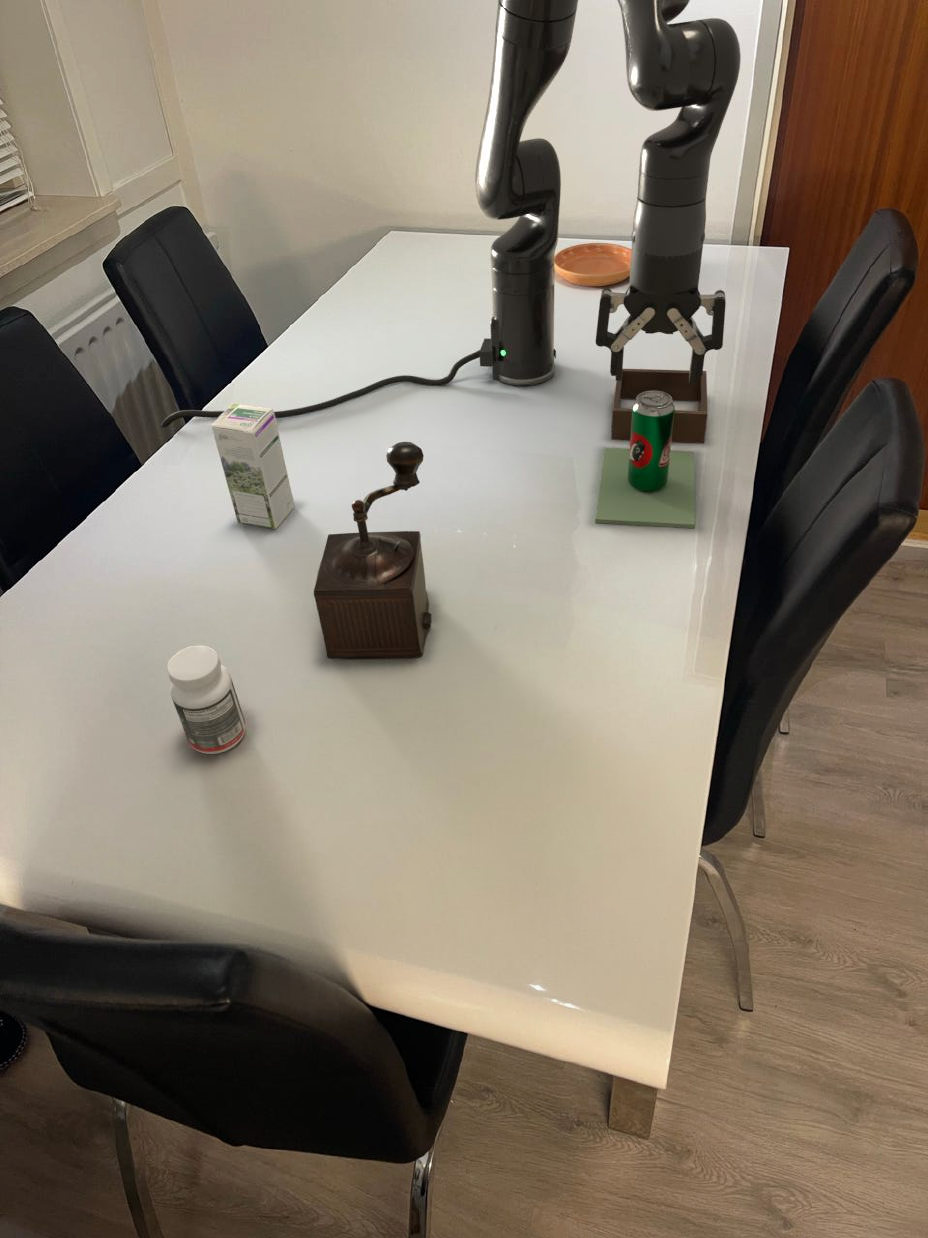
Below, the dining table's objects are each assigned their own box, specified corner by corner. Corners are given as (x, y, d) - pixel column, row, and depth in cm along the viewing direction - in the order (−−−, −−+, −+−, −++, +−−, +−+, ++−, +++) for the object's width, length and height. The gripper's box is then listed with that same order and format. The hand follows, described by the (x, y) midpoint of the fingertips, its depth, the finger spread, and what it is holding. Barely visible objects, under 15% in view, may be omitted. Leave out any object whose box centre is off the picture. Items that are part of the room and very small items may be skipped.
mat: (594, 522, 116) (595, 518, 115) (604, 451, 128) (604, 447, 128) (694, 528, 113) (695, 524, 113) (694, 455, 126) (694, 451, 126)
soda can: (666, 495, 118) (674, 409, 110) (625, 493, 119) (631, 408, 111) (667, 473, 122) (676, 389, 114) (628, 471, 123) (634, 387, 115)
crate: (611, 439, 130) (612, 410, 127) (616, 396, 140) (617, 368, 137) (703, 443, 128) (707, 413, 125) (703, 399, 137) (706, 370, 134)
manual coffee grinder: (428, 659, 99) (412, 518, 87) (325, 660, 99) (295, 521, 88) (437, 568, 110) (424, 433, 99) (345, 570, 111) (321, 436, 99)
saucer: (643, 287, 169) (644, 271, 167) (555, 292, 170) (555, 276, 168) (632, 255, 181) (633, 240, 179) (550, 260, 182) (550, 244, 180)
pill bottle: (192, 716, 94) (166, 643, 88) (249, 710, 95) (227, 637, 88) (185, 759, 90) (156, 686, 84) (244, 753, 90) (220, 680, 84)
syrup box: (296, 506, 122) (275, 405, 113) (275, 531, 118) (251, 429, 109) (258, 500, 124) (234, 400, 114) (235, 525, 120) (209, 424, 110)
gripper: (735, 228, 102) (716, 366, 112) (603, 226, 104) (596, 362, 115) (737, 254, 96) (717, 396, 107) (597, 252, 99) (592, 392, 109)
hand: (654, 378), depth 111 cm, fingers open, 8 cm apart
